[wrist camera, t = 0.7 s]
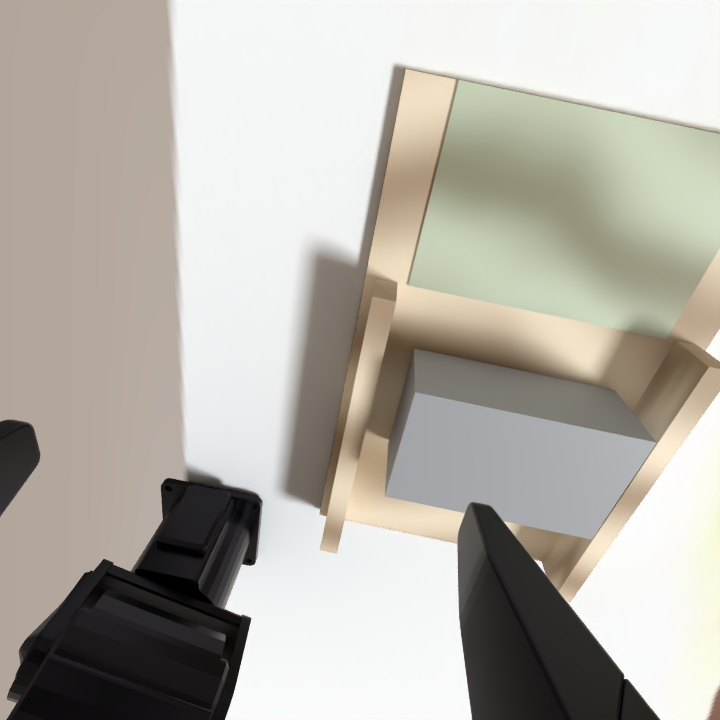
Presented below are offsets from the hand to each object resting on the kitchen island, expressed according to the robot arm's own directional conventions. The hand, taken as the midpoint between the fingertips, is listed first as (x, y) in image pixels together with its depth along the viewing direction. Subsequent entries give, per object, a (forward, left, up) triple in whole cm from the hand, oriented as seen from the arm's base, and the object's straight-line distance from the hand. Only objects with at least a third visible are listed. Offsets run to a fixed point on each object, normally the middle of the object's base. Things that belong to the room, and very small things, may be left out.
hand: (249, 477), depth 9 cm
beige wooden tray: (-3, -9, -13) cm, 16 cm away
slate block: (-5, -9, -13) cm, 17 cm away
